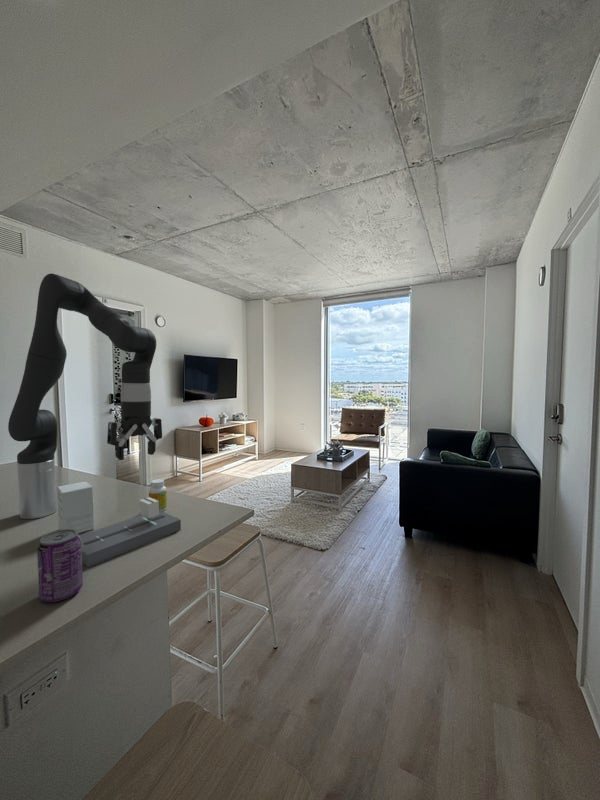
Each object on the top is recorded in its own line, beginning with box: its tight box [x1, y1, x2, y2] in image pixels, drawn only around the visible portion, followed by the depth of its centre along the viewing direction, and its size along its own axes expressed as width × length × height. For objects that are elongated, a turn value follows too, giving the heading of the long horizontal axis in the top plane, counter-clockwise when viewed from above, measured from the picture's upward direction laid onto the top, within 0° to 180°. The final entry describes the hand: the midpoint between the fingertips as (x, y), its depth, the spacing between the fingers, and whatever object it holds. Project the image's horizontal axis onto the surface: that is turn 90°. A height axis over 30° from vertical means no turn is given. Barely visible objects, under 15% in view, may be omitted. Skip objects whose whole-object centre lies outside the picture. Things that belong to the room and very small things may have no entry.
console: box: [78, 510, 182, 568], centre depth 89 cm, size 12×24×3 cm, turn 143°
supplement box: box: [56, 481, 95, 534], centre depth 94 cm, size 7×7×13 cm
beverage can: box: [36, 529, 84, 603], centre depth 66 cm, size 7×7×12 cm
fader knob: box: [138, 496, 159, 520], centre depth 93 cm, size 5×3×6 cm, turn 53°
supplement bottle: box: [148, 478, 168, 512], centre depth 109 cm, size 5×5×10 cm
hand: (136, 456), depth 92 cm, fingers open, 8 cm apart
